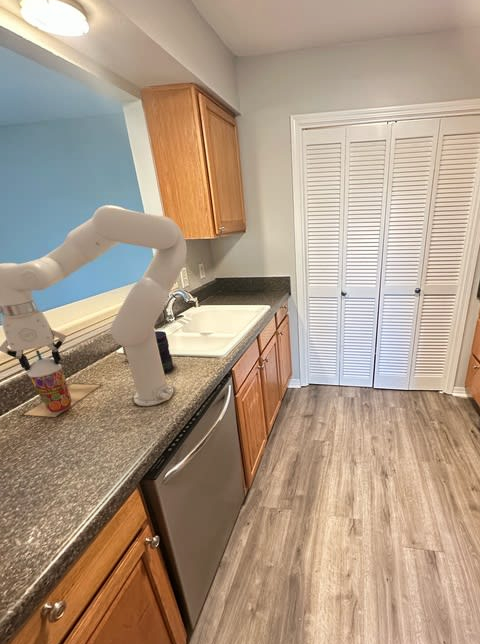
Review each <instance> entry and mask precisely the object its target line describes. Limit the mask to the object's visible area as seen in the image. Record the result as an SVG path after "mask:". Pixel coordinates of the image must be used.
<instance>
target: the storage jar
mask: <svg viewBox="0 0 480 644" xmlns="http://www.w3.org/2000/svg"><path fill="white" fill-rule="evenodd" d="M155 335H156V340H157V345H158V349H159V354H160V358H161V362H162V366H163V370H164V374H165V375H167V374H169V373H171V372H173V370H174V363H173V356H172V354H171V353H170V344H169V340H168V337H167V333H166V332H165V331H160V330H155Z"/></svg>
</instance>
